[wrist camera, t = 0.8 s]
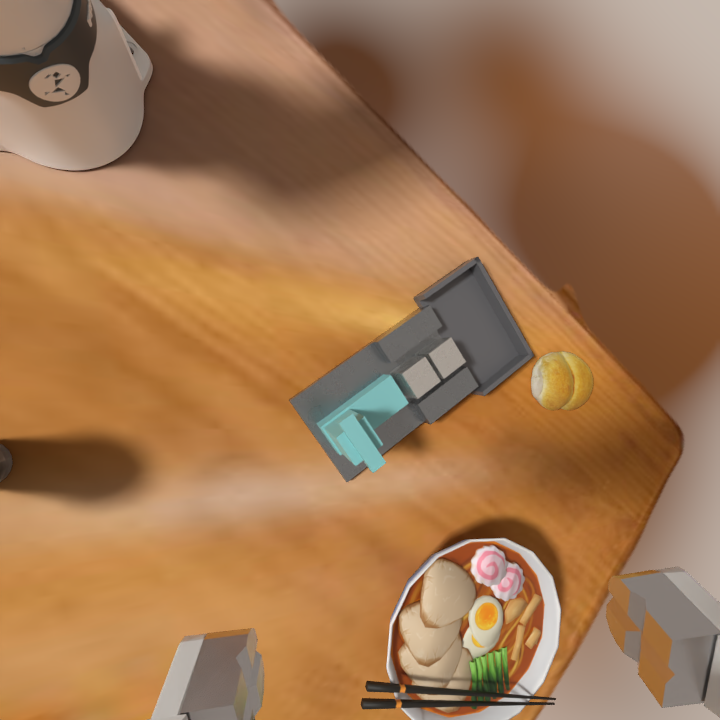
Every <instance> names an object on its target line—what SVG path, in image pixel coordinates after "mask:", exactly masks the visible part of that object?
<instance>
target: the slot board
mask: <svg viewBox="0 0 720 720" xmlns="http://www.w3.org/2000/svg"><path fill="white" fill-rule="evenodd" d="M440 327H442V325H441V323H440V321H439V320H438V318H437V316H436V315H435V313H434V311H433V310H432V308H431V306H430V305H428V306H425V307H421V308H418V309H417V310H416V311H414V312H413V313H411V314H410V315H409V316H407V317H406V318H404V319H403V320H401V321H400V322H399V323H397V324H396V325H394V326H393V327H392V328H390V329H389V330H387V331H386V332H384V333H383V334H382V335H380V336H379V337H377V338H376V339H374V340H373V341H372V342H370V343H369V344H367V345H366V346H365V347H363V348H362V349H360V350H359V351H357V352H356V353H355V354H353V355H352V356H350V357H349V358H348V359H346V360H345V361H343V362H342V363H340V364H339V365H338V366H336V367H335V368H333V369H332V370H331V371H329V372H328V373H326V374H325V375H323V376H322V377H321V378H319V379H318V380H316V381H315V382H313V383H312V384H311V385H309V386H308V387H306V388H305V389H304V390H302V391H301V392H299V393H298V394H296V395H295V396H294V397H292V398H291V399H289V401H290V403H291V404H292V405H293V407H294V408H295V410H296V411H297V413H298V414H299V415H300V417H301V418H302V420H303V421H304V422H305V424H306V425H307V427H308V428H309V430H310V431H311V432H312V434H313V435H314V437H315V438H316V440H317V441H318V442H319V444H320V445H321V447H322V448H323V450H324V451H325V452H326V454H327V455H328V457H329V458H330V459H331V461H332V462H333V464H334V465H335V467H336V468H337V469H338V471H339V472H340V474H341V475H342V477H343V478H344V479H345V481H346V482H348V481H350V480H351V479H352V478H353V477H355V476H356V475H357V474H358V473H360V472H361V471H362V470H364V469H365V468H366V467H367V465H366V464H365V462H364V461H362V462H360V463H359V464H358V465H357V466H355V465H354V464H353V463H352V462H350V461H349V460H348V459H347V458H346V457H345V456H344V455H343V454H342V455H341V456H340V455H339V454H338V453H337V452H336V451H335V450H334V448H333V447H332V445H331V444H330V442H329V441H328V440H327V438H326V437H325V435H324V434H323V432H322V431H321V429H320V428H319V427H318V425H317V423H318V422H319V421H321V420H322V419H323V418H325V417H326V416H328V415H329V414H330V413H332V412H333V411H334V410H336V409H337V408H338V407H340V406H341V405H343V404H344V403H345V402H347V401H348V400H349V399H351V398H352V397H353V396H355V395H356V394H357V393H359V392H360V391H362V390H363V389H364V388H366V387H367V386H368V385H370V384H371V383H372V382H374V381H375V380H377V379H378V378H379V377H381V376H382V375H383V374H385V375H391V374H390V373H389V372H391V371H392V370H394V369H395V368H396V367H398V366H399V365H400V364H402V363H403V362H404V361H406V360H407V359H408V358H410V357H411V356H415V353H417V352H418V351H419V350H421V349H422V348H423V347H425V346H426V345H427V344H429V343H430V342H432V341H433V340H434V339H437V338H441V336H440V335H439V333H438V331H437V330H438V329H439V328H440ZM392 378H393V377H392ZM439 379H440V382H439V383H438V384H437V385H435V386H434V387H433V388H431V389H430V390H429V391H428V392H426V393H425V394H424V395H422V396H421V397H420V398H418V399H416V398H412V397H408V396H405V398H406V400H407V401H408V404H407V405H406V406H404V407H403V408H402V409H400V410H399V411H398V412H397V413H395V414H394V415H393V416H391V417H390V418H389V419H387V420H386V421H385V422H384V423H382V424H381V425H380V426H378V427H377V428H376V429H374V431H375V433H376V434H377V436H378V437H379V439H380V440H381V442H382V443H383V445H382V446H381V447H380V448H378V449H377V450H378V451H379V453H380V454H381V455H382V454H384V453H385V452H386V451H388V450H389V449H390V448H391V447H393V446H394V445H395V444H396V443H398V442H399V441H400V440H401V439H403V438H404V437H405V436H406V435H408V434H409V433H410V432H412V431H413V430H414V429H415V428H417V427H418V426H419V425H420V424H422V423H423V422H425V423H428V424H432V423H433V422H434V421H436V420H437V419H438V418H439V417H441V416H442V415H443V414H445V413H446V412H447V411H448V410H450V409H451V408H452V407H453V406H455V405H456V404H457V403H458V402H460V401H461V400H462V399H463V398H465V397H466V396H467V395H468V394H470V393H471V392H472V391H473V390H475V389H476V388H477V387H478V384H477V383H476V381H475V379H474V378H473V376H472V374H471V373H470V371H469V369H468V368H467V367H466V366H460V367H459V368H457V369H456V370H455V371H453V372H452V373H451V374H450V375H448V376H447V377H446V378H444V379H441V378H439ZM394 381H395V380H394ZM395 383H396V382H395ZM397 386H398V385H397ZM399 389H400V388H399ZM401 392H402V391H401ZM403 395H404V394H403Z"/></svg>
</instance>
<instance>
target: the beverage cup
mask: <svg viewBox="0 0 720 720" xmlns="http://www.w3.org/2000/svg"><path fill="white" fill-rule="evenodd" d="M12 464H13V462H12V456H11V454H10V452H9V450H8V449H7V448H6V447H5V446H4V445H2V444H0V482H1V481H2V480H3V479H5V478H6V477H7V475H8V474H9V472H10V471H11V468H12Z"/></svg>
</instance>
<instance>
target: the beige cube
mask: <svg viewBox="0 0 720 720" xmlns="http://www.w3.org/2000/svg"><path fill="white" fill-rule="evenodd" d="M389 373H390V374H391V376H392V377H393V379H394V380H395V382H396V384H397V385H398V387H399V388H400V390H401V391H402V393H403V394H404V396H408V397H412V398H416V399H418V398H420V397H421V396H422V395H424V394H425V393H426V392H428V391H429V390H430V389H431V388H433V387H434V386H435V385H437V384H438V383H439V382H440V379H439V378H438V376H437V374H436V373H435V371H434V370H433V368H432V366H431V365H430V363H429V362H428V360H427V358H426V357H425V356H411V357H410V358H408V359H407V360H406V361H404V362H403V363H402V364H400V365H399V366H398V367H396V368H395V369H394V370H392V371H391V372H389Z"/></svg>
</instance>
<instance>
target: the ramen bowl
mask: <svg viewBox="0 0 720 720" xmlns="http://www.w3.org/2000/svg"><path fill="white" fill-rule="evenodd" d="M560 621H561V606H560V602H559V598H558V594H557V591H556V587H555V583H554V579H553V576H552V575H551V573H550V572H549V571H548V570H547V568H546V567H545V566H544V565H543V563H542V562H541V561H540V559H539V558H538V557H537V556H536V554H535V553H534V552H533V551H531V550H529V549H527V548H525V547H523V546H521V545H519V544H517V543H515V542H513V541H510V540H508V539H506V538H490V539H466V540H462V541H460V542H458V543H456V544H454V545H452V546H449V547H447V548H445V549H443V550H441V551H439V552H437V553H435V554H433V555H431V556H430V557H429V558H428V559H427V560H426V561H425V562H424V563H423V564H422V565H421V567H420V568H419V569H418V570H417V571H416V572H415V573H414V574H413V575H412V576H411V577H410V578H409V579H408V581H407V583H406V586H405V588H404V590H403V592H402V594H401V596H400V598H399V601H398V603H397V605H396V607H395V609H394V611H393V614H392V616H391V621H390V631H389V643H388V655H387V667H386V668H387V672H388V675H389V678H390V682H391V683H384V682H374V681H367V682H366V686H365V687H366V690H367V691H368V692H390V693H394V695H395V698H396V699H371V698H362V701H361V706H362V709H390V708H401V709H402V710H403V711H404V712H405V713H406V714H407V715H408V716H409V717H410V718H411V719H412V720H509V719H511V718H513V717H514V716H516V715H517V714H519V713H520V712H521V711H522V709H523V708H524V707H525V706H526V705H554V703H546V702H529V701H530V699H545V700H556V698H549V697H538V696H534V694H535V693H536V692H537V691H538V689H539V688H540V687H541V685H542V684H543V683H544V681H545V679H546V676H547V674H548V671H549V669H550V666H551V664H552V661H553V659H554V657H555V654H556V652H557V649H558V647H559V634H560Z"/></svg>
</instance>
